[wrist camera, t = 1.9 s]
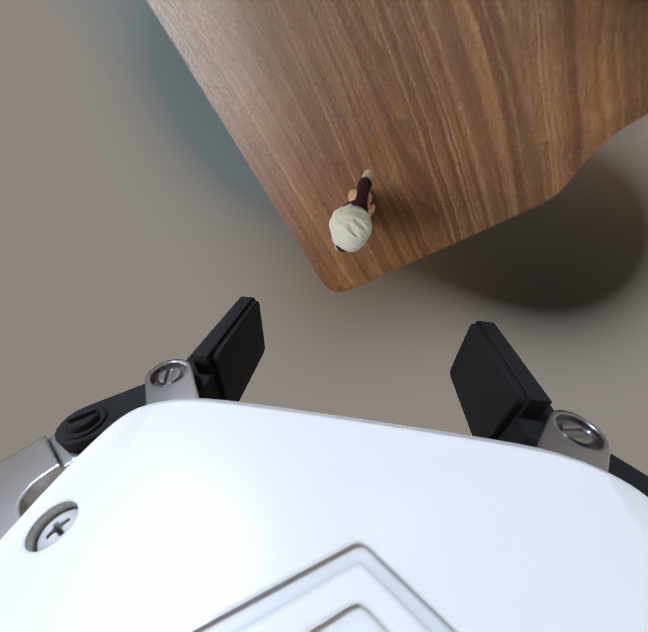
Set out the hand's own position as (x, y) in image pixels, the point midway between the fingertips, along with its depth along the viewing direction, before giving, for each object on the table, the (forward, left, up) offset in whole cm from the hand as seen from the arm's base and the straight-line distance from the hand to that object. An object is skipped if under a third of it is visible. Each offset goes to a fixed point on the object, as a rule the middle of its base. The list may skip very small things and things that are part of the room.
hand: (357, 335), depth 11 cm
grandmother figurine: (+1, -2, -22) cm, 22 cm away
